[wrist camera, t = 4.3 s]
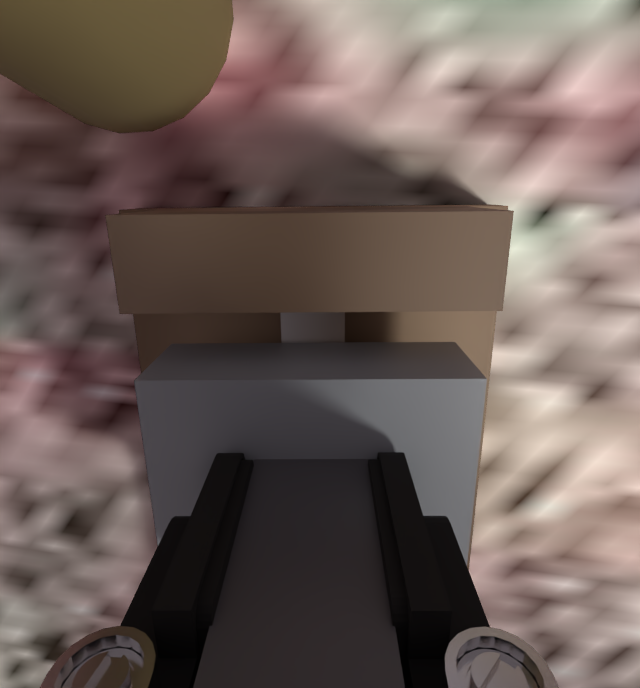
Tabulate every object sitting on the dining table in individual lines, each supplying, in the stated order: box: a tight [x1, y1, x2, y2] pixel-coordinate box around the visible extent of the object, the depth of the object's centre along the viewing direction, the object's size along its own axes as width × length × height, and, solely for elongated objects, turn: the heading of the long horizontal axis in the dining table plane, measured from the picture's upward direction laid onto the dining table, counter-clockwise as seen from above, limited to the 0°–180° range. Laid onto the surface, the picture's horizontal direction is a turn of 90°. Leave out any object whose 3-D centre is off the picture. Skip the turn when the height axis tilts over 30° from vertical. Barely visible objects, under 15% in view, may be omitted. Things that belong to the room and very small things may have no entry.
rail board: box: [105, 205, 514, 570], centre depth 15 cm, size 10×24×4 cm, turn 1°
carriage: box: [134, 342, 487, 688], centre depth 9 cm, size 7×6×8 cm
